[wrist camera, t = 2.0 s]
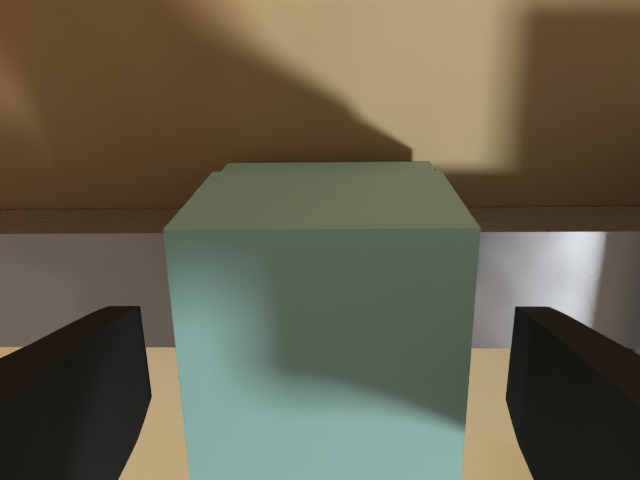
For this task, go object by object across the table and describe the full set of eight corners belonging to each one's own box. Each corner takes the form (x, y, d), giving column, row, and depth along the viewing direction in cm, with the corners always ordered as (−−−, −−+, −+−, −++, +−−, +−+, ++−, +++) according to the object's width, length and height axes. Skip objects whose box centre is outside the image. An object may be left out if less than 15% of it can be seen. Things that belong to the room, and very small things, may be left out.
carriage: (419, 366, 17) (457, 530, 12) (241, 365, 17) (194, 525, 12) (429, 153, 15) (480, 228, 10) (227, 155, 15) (163, 229, 10)
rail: (622, 311, 17) (658, 348, 15) (-160, 311, 17) (-221, 346, 16) (640, 206, 16) (681, 231, 14) (-192, 210, 16) (-260, 234, 15)
